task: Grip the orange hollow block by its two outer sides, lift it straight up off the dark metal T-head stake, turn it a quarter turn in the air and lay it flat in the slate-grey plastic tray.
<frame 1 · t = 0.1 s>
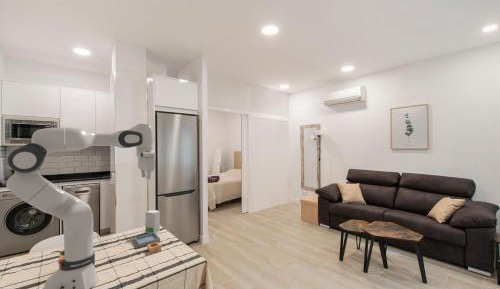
hand: (146, 178, 128), 48 cm above the table, tool pointing down, fingers open, 8 cm apart
skincare box: (153, 231, 174), on the table
tray: (147, 241, 157), on the table
stake: (154, 249, 145), on the table
orange hollow block: (154, 249, 145), on the table
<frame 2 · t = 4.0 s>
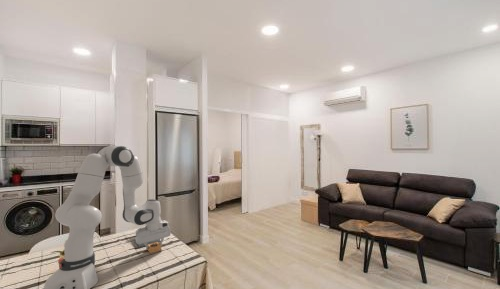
hand: (154, 246, 145), 2 cm above the table, tool pointing down, fingers closed on orange hollow block, 6 cm apart
orange hollow block: (154, 249, 145), on the table, touching gripper
everything else where it was.
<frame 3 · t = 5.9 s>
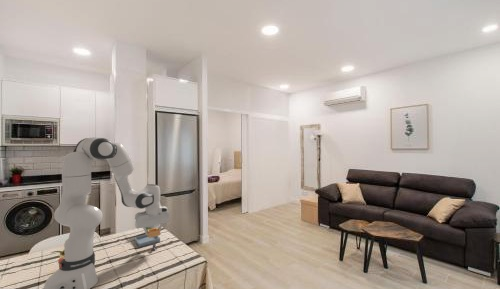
hand: (153, 231, 144), 12 cm above the table, tool pointing down, fingers closed on orange hollow block, 6 cm apart
orange hollow block: (153, 234, 144), point 10 cm above the table, touching gripper
everything else where it was.
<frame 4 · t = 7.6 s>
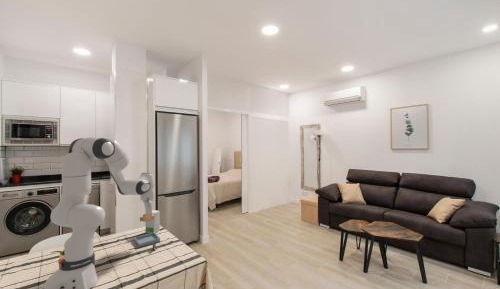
hand: (148, 216, 155), 18 cm above the table, tool pointing down, fingers closed on orange hollow block, 6 cm apart
orange hollow block: (148, 219, 155), point 16 cm above the table, touching gripper
everything else where it was.
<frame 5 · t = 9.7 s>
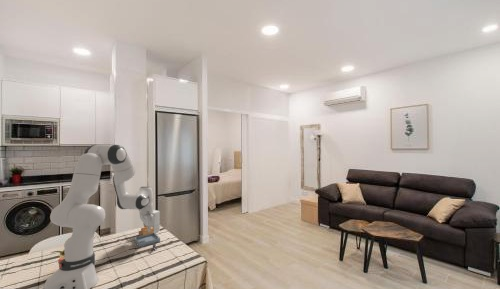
hand: (147, 229, 157), 8 cm above the table, tool pointing down, fingers closed on orange hollow block, 6 cm apart
orange hollow block: (147, 232, 157), point 6 cm above the table, touching gripper
everything else where it was.
when the fingers open (4 cm above the table, at t = 11.4 s): orange hollow block drops 1 cm, resting on tray.
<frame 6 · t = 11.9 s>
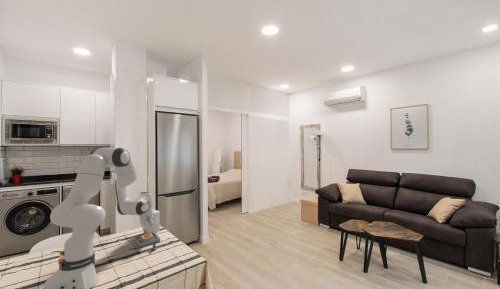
hand: (147, 235, 157), 4 cm above the table, tool pointing down, fingers open, 8 cm apart
orange hollow block: (147, 240, 157), point 1 cm above the table, touching tray
everything else where it was.
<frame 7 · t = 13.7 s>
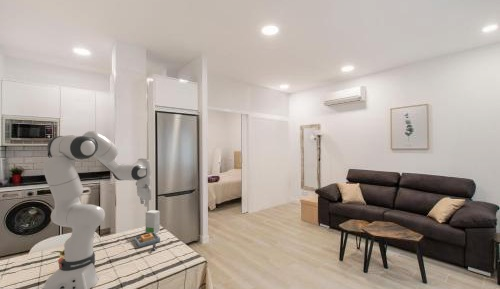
hand: (144, 205, 149), 27 cm above the table, tool pointing down, fingers open, 8 cm apart
nothing on the table moved.
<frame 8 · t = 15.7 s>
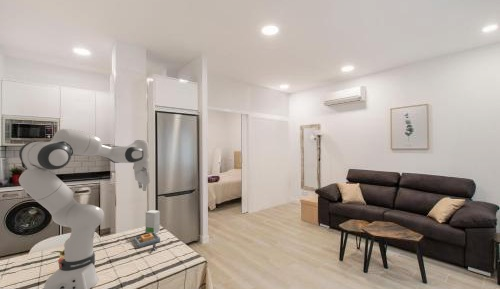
hand: (142, 189, 140), 39 cm above the table, tool pointing down, fingers open, 8 cm apart
nothing on the table moved.
at the end: orange hollow block 0.0 cm off-centre on the tray, point 0.8 cm above the tray's base; orange hollow block tilted 0°; the gripper is holding nothing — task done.
